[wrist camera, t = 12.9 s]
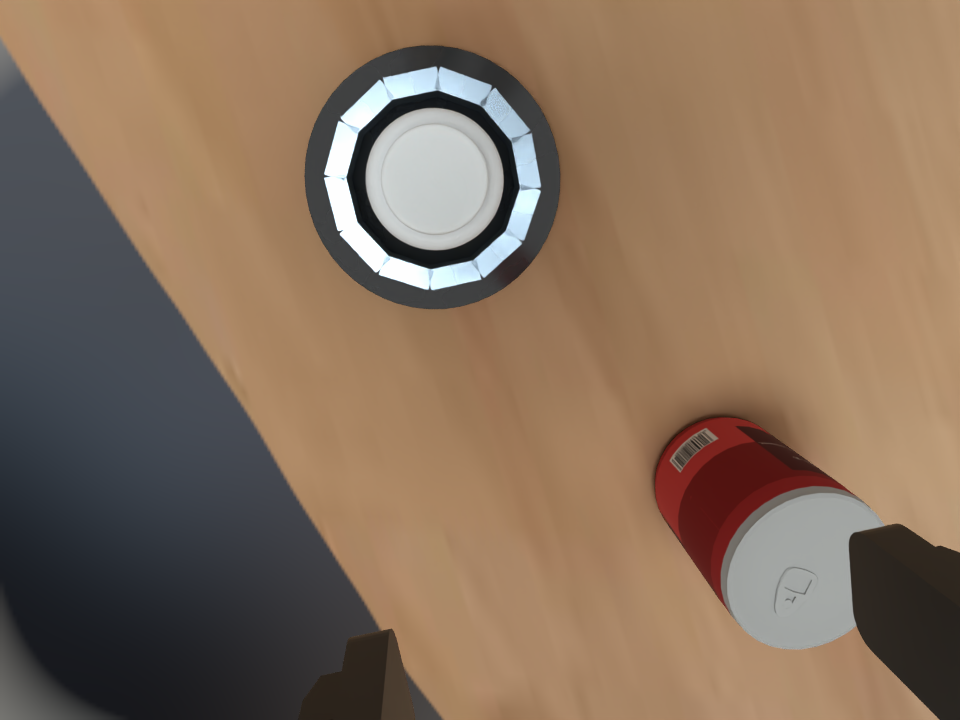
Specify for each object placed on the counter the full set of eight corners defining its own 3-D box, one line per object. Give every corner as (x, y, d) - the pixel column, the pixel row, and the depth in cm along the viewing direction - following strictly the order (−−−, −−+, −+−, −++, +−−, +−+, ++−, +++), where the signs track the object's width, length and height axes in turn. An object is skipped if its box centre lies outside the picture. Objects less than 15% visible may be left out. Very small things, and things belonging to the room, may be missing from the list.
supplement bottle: (357, 176, 34) (325, 169, 24) (439, 101, 34) (441, 63, 24) (430, 260, 36) (428, 286, 26) (511, 189, 35) (541, 188, 25)
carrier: (347, 12, 34) (337, -9, 30) (590, 101, 35) (607, 91, 32) (281, 263, 36) (265, 271, 33) (510, 334, 38) (518, 349, 35)
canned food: (640, 531, 42) (711, 648, 31) (662, 407, 40) (745, 486, 29) (760, 539, 42) (870, 656, 32) (787, 417, 40) (913, 497, 30)
